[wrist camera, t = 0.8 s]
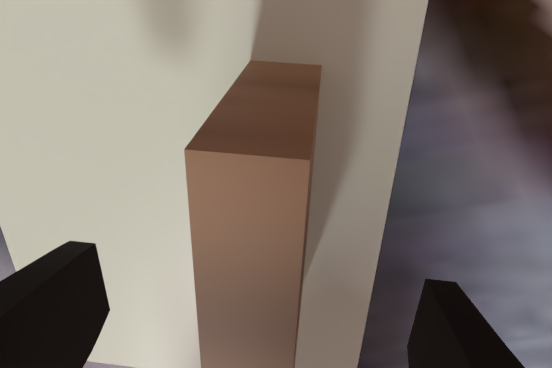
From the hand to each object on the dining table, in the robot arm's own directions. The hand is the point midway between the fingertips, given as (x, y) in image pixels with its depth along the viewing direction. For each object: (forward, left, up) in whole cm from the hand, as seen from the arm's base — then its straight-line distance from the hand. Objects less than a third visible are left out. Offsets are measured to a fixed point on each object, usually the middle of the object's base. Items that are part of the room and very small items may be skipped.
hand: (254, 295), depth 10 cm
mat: (-2, +4, -6) cm, 7 cm away
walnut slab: (0, 0, -5) cm, 5 cm away
